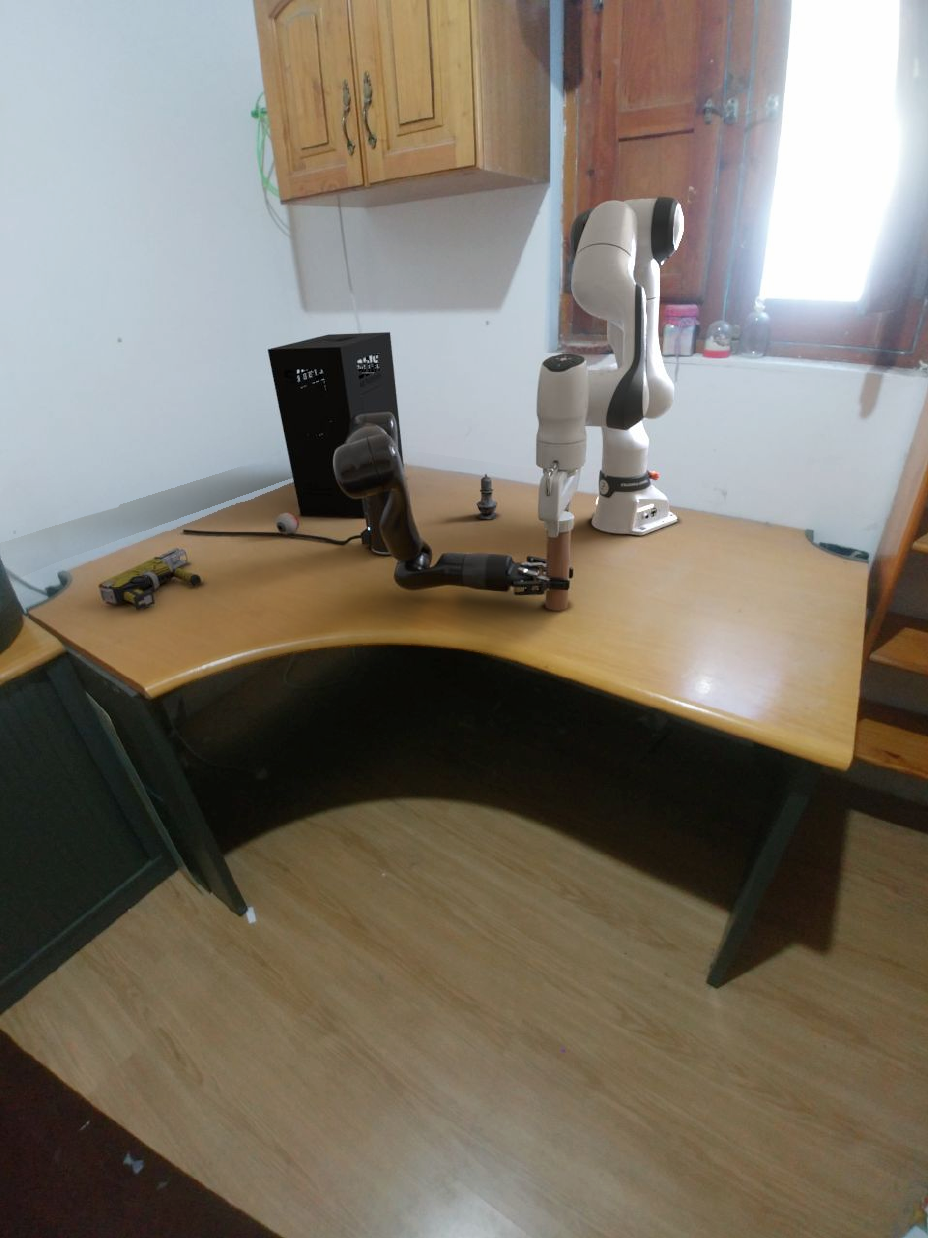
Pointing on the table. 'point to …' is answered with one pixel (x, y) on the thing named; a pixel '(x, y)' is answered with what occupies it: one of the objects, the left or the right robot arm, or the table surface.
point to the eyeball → (287, 523)
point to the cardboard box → (330, 409)
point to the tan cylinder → (557, 568)
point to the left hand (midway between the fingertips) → (570, 578)
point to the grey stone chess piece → (486, 500)
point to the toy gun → (146, 580)
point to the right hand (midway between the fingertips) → (558, 527)
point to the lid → (564, 522)
